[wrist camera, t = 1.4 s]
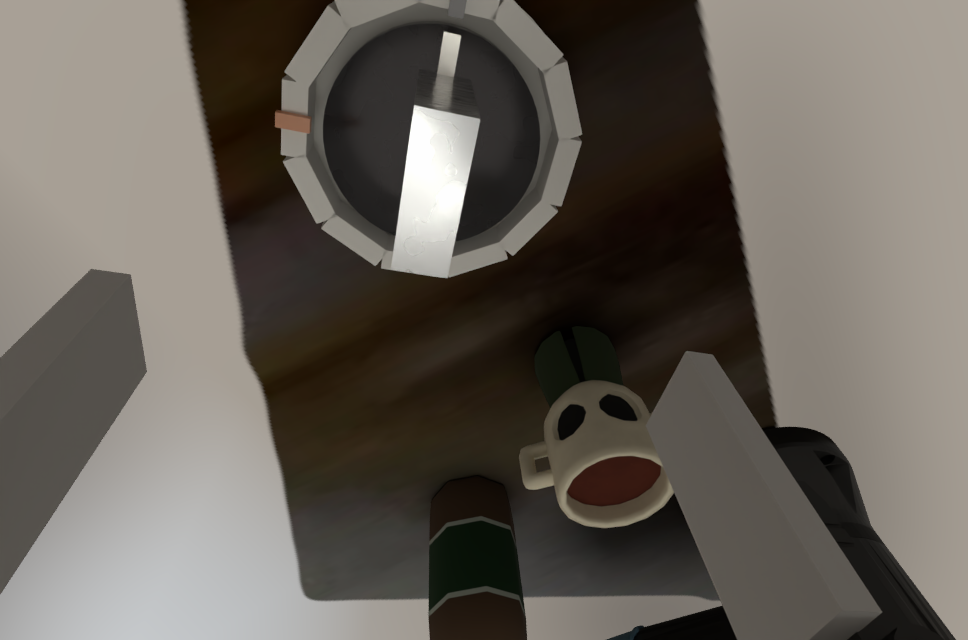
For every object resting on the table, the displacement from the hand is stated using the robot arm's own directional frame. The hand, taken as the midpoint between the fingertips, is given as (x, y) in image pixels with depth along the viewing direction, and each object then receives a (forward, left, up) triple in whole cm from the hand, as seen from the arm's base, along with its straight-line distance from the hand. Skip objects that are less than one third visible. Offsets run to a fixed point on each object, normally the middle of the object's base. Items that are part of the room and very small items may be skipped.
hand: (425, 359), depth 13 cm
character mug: (-20, -4, -23) cm, 31 cm away
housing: (0, 0, -22) cm, 22 cm away
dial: (0, 0, -19) cm, 19 cm away
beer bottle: (-34, +9, -23) cm, 42 cm away
